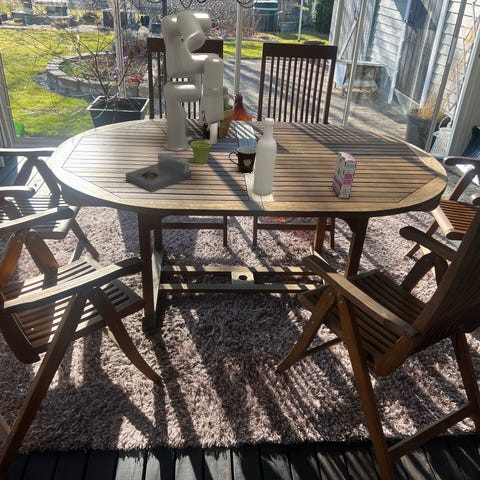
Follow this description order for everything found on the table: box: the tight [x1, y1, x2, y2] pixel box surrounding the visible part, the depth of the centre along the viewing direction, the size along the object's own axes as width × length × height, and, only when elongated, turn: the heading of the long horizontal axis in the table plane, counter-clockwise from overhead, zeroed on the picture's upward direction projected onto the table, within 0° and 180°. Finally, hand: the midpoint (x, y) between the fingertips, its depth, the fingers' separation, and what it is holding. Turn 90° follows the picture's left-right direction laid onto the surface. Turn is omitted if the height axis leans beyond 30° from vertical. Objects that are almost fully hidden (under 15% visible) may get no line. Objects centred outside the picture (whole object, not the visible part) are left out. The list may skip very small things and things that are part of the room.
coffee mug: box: [228, 146, 257, 174], centre depth 204 cm, size 12×9×10 cm
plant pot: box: [190, 140, 212, 165], centre depth 211 cm, size 9×9×9 cm
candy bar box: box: [331, 151, 358, 199], centre depth 188 cm, size 11×5×16 cm, turn 5°
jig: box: [125, 152, 192, 193], centre depth 190 cm, size 22×16×7 cm
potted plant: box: [217, 85, 235, 139], centre depth 243 cm, size 18×19×25 cm
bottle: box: [252, 117, 278, 196], centre depth 181 cm, size 8×8×30 cm
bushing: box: [204, 121, 218, 145], centre depth 183 cm, size 5×5×8 cm
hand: (211, 137), depth 184 cm, fingers closed on bushing, 4 cm apart
